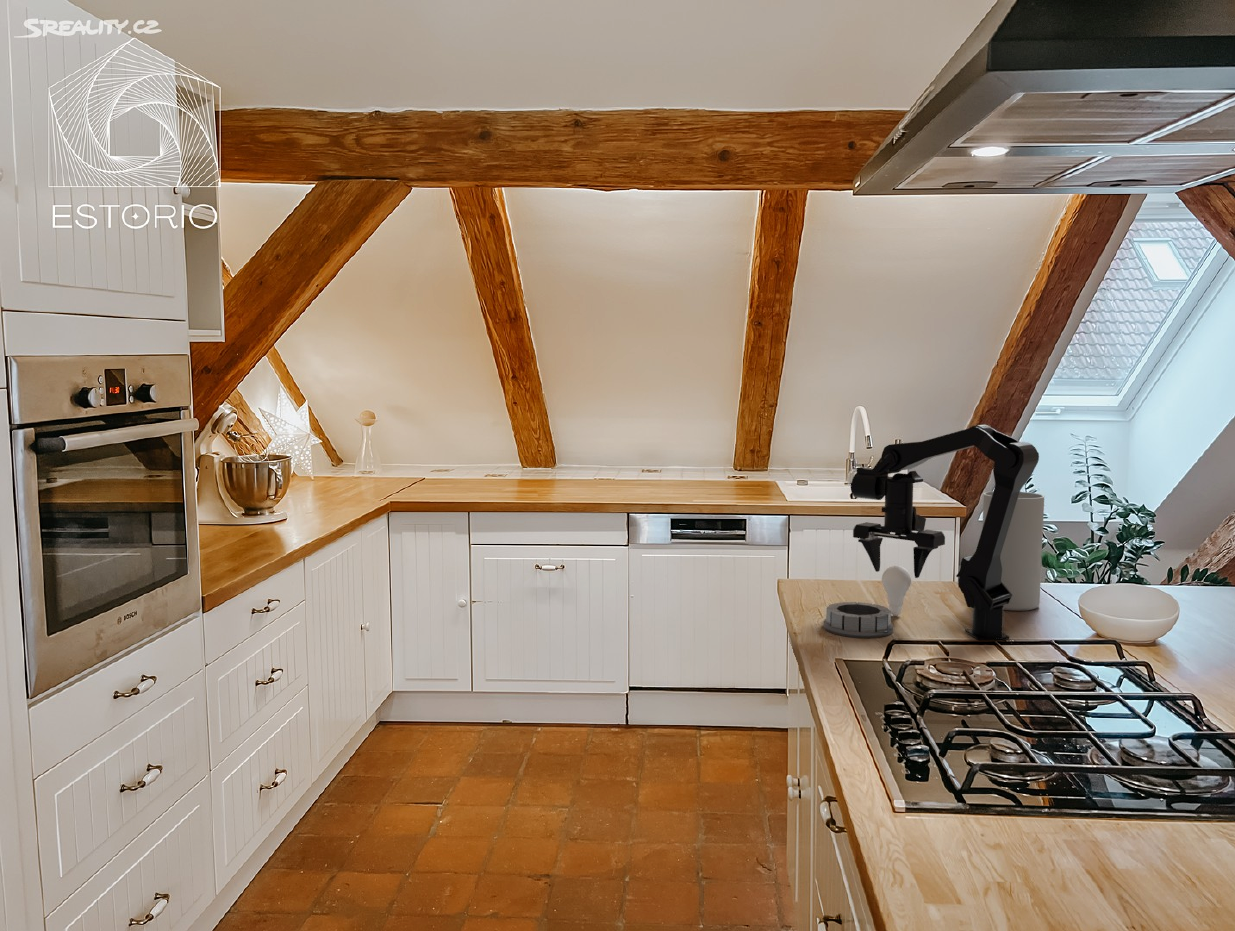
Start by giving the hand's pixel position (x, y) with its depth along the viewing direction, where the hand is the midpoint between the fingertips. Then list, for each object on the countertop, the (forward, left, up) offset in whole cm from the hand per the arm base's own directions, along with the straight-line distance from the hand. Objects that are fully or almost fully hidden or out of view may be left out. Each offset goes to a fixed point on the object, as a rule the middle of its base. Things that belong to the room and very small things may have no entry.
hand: (896, 574), depth 207 cm
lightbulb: (0, 0, -9) cm, 9 cm away
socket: (-9, +11, -9) cm, 17 cm away
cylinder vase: (+8, -29, -9) cm, 31 cm away
